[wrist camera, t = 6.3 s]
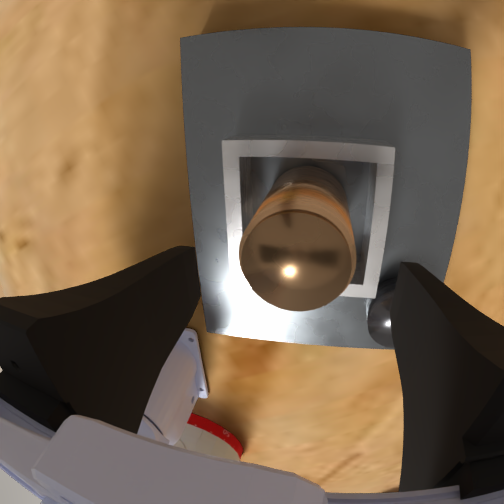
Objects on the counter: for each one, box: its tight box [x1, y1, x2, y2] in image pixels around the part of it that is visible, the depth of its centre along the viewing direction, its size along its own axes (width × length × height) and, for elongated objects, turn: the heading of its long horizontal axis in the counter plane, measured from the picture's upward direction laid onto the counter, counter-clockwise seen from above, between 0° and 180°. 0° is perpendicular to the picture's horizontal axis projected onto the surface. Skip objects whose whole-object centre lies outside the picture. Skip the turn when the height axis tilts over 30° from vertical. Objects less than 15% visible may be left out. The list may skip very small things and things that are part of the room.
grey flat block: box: [180, 27, 471, 349], centre depth 17 cm, size 20×16×5 cm
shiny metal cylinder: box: [239, 166, 356, 311], centre depth 14 cm, size 4×4×7 cm
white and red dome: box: [173, 413, 243, 461], centre depth 31 cm, size 14×14×15 cm
